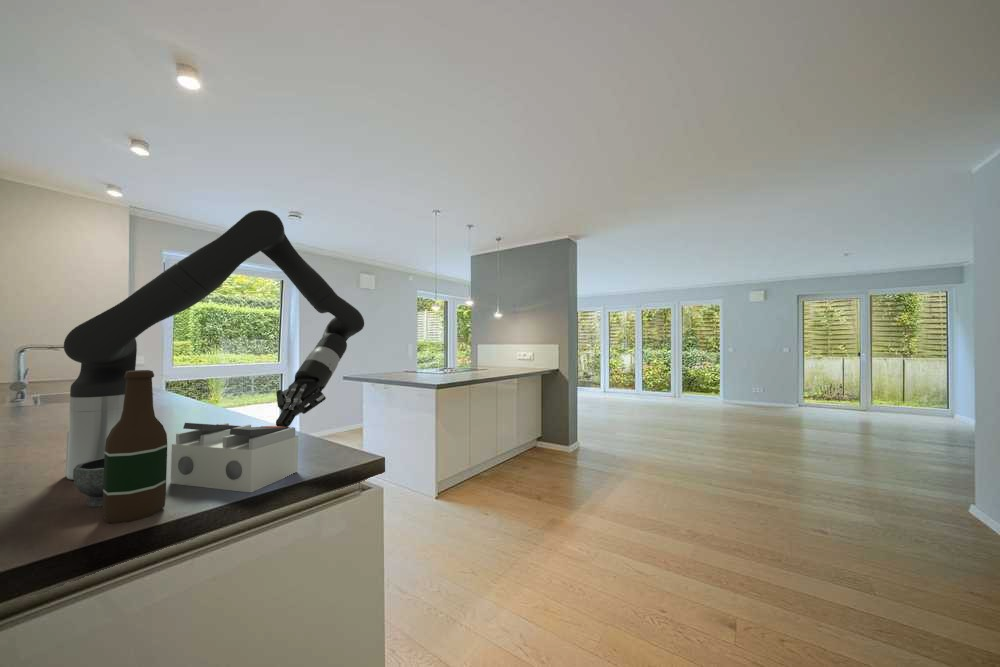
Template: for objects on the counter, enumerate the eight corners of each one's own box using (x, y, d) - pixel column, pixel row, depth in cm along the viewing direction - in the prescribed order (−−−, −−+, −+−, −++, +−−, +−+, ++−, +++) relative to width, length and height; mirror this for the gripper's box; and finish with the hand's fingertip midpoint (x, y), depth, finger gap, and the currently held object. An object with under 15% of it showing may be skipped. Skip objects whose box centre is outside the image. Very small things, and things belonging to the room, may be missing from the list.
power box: (168, 484, 77) (170, 434, 77) (225, 465, 89) (226, 422, 89) (249, 493, 72) (250, 440, 73) (297, 472, 84) (298, 427, 85)
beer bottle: (125, 526, 59) (131, 372, 60) (87, 521, 60) (93, 371, 61) (177, 505, 66) (181, 369, 67) (142, 502, 68) (147, 368, 69)
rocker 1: (183, 428, 78) (185, 422, 79) (226, 431, 87) (227, 425, 88) (202, 429, 77) (204, 423, 77) (243, 432, 86) (245, 426, 87)
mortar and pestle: (113, 510, 65) (116, 439, 65) (54, 512, 64) (57, 440, 64) (166, 486, 76) (168, 426, 76) (117, 487, 75) (119, 426, 75)
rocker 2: (229, 434, 75) (230, 427, 76) (270, 431, 85) (270, 425, 85) (250, 435, 74) (251, 429, 74) (288, 432, 84) (289, 426, 84)
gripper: (288, 358, 96) (245, 416, 84) (334, 358, 93) (296, 418, 81) (303, 377, 101) (265, 434, 89) (347, 377, 98) (314, 437, 86)
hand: (280, 426), depth 85 cm, fingers closed
